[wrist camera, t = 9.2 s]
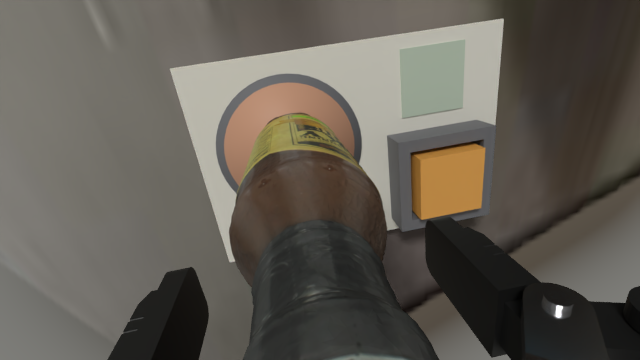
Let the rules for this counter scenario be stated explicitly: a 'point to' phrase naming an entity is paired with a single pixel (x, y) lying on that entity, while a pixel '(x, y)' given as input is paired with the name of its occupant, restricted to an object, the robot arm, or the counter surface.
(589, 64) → the counter surface
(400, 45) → the white control panel
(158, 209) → the counter surface
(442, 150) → the button
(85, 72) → the counter surface
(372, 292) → the sauce bottle
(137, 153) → the counter surface
